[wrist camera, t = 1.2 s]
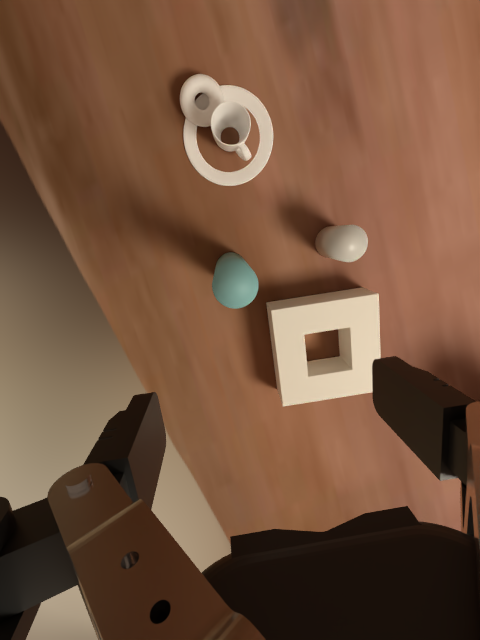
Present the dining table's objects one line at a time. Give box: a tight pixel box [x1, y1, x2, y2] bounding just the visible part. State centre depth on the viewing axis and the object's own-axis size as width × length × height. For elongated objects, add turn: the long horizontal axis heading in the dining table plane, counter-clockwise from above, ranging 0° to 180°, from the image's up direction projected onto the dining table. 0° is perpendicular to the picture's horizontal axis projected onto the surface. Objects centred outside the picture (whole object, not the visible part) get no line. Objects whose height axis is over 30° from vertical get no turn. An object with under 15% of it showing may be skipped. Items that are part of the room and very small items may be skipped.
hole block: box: [266, 287, 380, 406], centre depth 32 cm, size 10×10×4 cm
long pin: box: [212, 252, 258, 308], centre depth 26 cm, size 3×3×11 cm
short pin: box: [315, 225, 368, 262], centre depth 28 cm, size 3×3×5 cm
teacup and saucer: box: [180, 74, 273, 186], centre depth 26 cm, size 9×8×4 cm
